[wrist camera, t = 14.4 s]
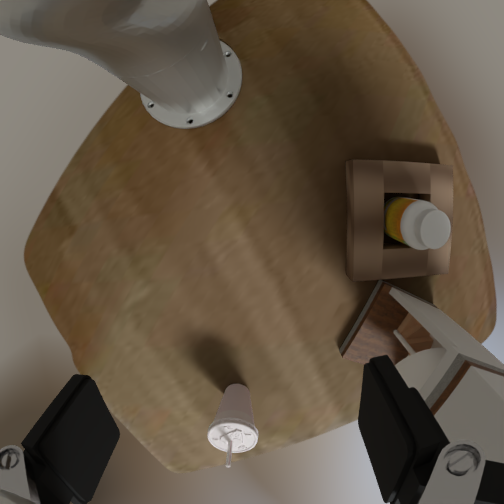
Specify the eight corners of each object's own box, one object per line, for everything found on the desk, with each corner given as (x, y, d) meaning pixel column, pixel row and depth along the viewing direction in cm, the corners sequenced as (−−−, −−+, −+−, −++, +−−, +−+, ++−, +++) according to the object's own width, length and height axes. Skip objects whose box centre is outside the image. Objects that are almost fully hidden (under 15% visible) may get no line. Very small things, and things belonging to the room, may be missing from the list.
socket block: (345, 160, 34) (352, 159, 31) (440, 165, 33) (452, 165, 30) (346, 274, 37) (352, 281, 34) (437, 267, 37) (448, 273, 34)
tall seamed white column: (379, 278, 37) (572, 486, 3) (433, 304, 38) (596, 463, 4) (339, 349, 40) (427, 590, 6) (394, 367, 40) (498, 554, 6)
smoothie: (209, 398, 42) (194, 468, 29) (225, 370, 41) (213, 441, 27) (247, 412, 43) (243, 482, 29) (266, 385, 41) (267, 457, 28)
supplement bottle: (377, 238, 36) (412, 257, 27) (378, 195, 35) (415, 201, 25) (413, 238, 36) (453, 256, 26) (415, 197, 35) (457, 204, 25)
